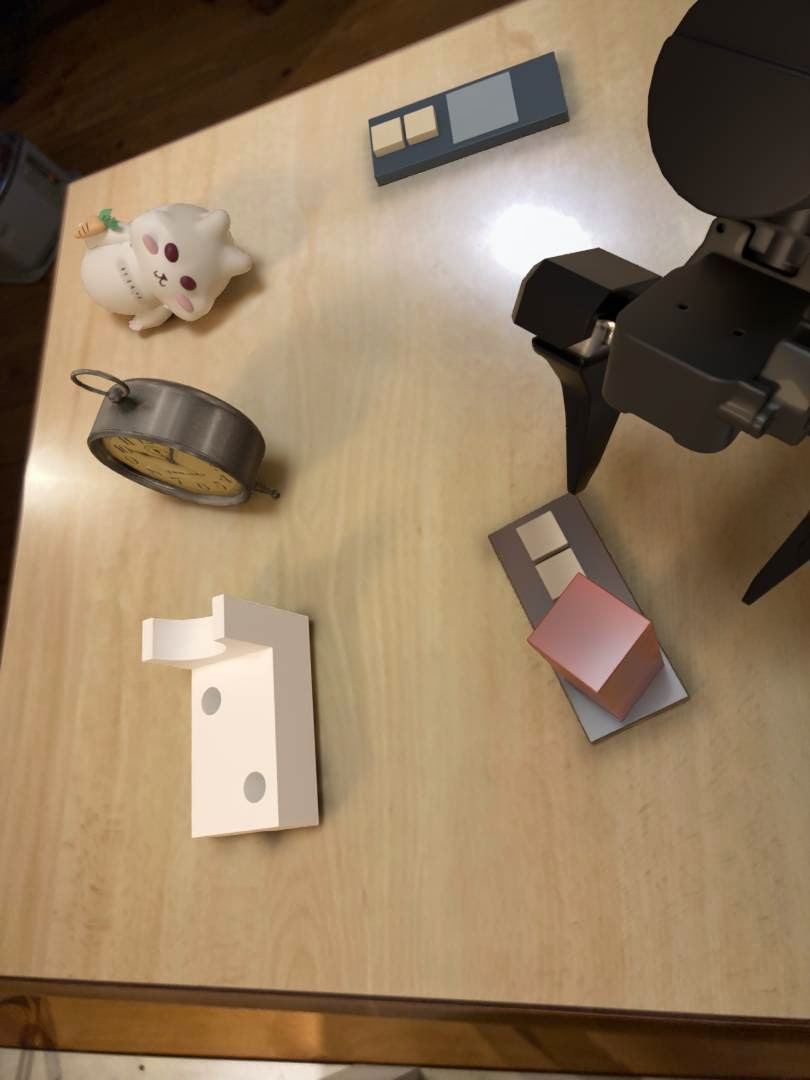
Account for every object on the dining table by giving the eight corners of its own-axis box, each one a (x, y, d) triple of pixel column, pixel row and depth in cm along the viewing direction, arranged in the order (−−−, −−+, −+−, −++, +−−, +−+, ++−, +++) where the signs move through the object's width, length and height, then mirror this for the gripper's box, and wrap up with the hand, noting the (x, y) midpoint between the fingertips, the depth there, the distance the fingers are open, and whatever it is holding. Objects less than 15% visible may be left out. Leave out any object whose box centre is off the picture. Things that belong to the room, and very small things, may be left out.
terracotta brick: (605, 623, 48) (578, 571, 38) (665, 664, 46) (652, 621, 37) (563, 678, 48) (525, 640, 38) (621, 722, 46) (597, 694, 36)
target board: (556, 61, 63) (552, 41, 62) (569, 121, 61) (565, 101, 60) (372, 128, 68) (364, 111, 66) (378, 186, 65) (370, 170, 64)
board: (575, 495, 52) (571, 484, 51) (690, 699, 46) (689, 694, 45) (490, 540, 53) (483, 531, 52) (592, 745, 47) (588, 742, 46)
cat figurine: (23, 244, 63) (180, 188, 56) (81, 204, 68) (229, 149, 62) (95, 355, 68) (245, 315, 62) (142, 309, 74) (285, 269, 67)
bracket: (230, 639, 58) (142, 620, 52) (308, 616, 55) (223, 593, 49) (233, 835, 54) (138, 840, 48) (318, 825, 50) (226, 828, 44)
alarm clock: (160, 504, 63) (-5, 407, 48) (181, 438, 64) (26, 324, 50) (286, 520, 59) (146, 419, 44) (305, 449, 60) (176, 329, 46)
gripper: (483, 108, 28) (391, 492, 37) (1102, 354, 19) (781, 770, 29) (644, 109, 35) (533, 429, 44) (1141, 287, 27) (875, 635, 36)
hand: (657, 543), depth 38 cm, fingers open, 9 cm apart
